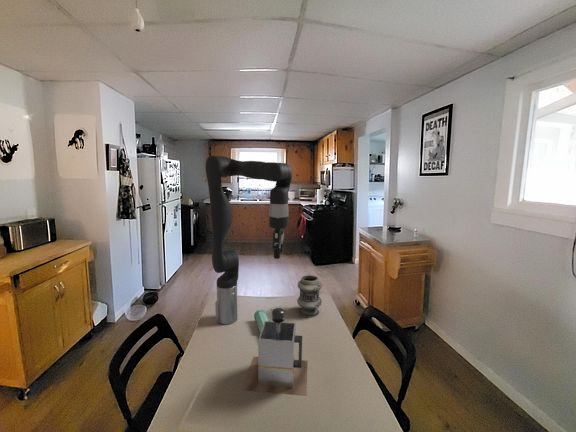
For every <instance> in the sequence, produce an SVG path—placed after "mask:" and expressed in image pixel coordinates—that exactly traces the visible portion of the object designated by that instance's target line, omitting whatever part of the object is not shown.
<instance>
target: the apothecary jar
mask: <svg viewBox="0 0 576 432" xmlns="http://www.w3.org/2000/svg"><path fill="white" fill-rule="evenodd" d="M322 286H323V284H322V283H321V281H320V280H319V277H318V276H316V275H314V274H305V275H303V276H302V277H301V278H300V280H299V281H298V282H297V288H298V289H299V296H298V297H297V304H298V306H299V307H300V308H299V312H298V313H299V314H300V315H301V316H303V317H307V318H312V317H317V316H318V315H319V314H320V311H319V309H318V308H320V307H321V306H322V298H321V297H320V290H321V289H322V288H323V287H322Z"/></svg>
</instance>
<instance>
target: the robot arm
mask: <svg viewBox="0 0 576 432" xmlns="http://www.w3.org/2000/svg"><path fill="white" fill-rule="evenodd" d="M205 173H206V181H207V186H208V195H209V209H210V222H211V223H210V224H211V237H212V238H211V239H212V240H211V241H212V243H211V262H212V263H211V264H212V268H213V270H214V271H215V273H217V274H221V273H223V274H221V275H220V276H219V277H218V278H217V279H216V302H215V303H214V304H215V305H214V306H215V322H216V323H219V324H220V325H231V324H234V323H235V322H237V321H238V314H239V313H238V280H239V270H240V269H239V268H240V266H239V265H240V259H239V255H238V253H237V251H236V250H235V249H226V250H224V243H225V239H226V236H227V234H228V233H229V231H230V230H231V229H230V228H231V226H232V224H233V212H232V211H233V209H232V204H231V202H230V201H229V200H230V199H228V197H227V195H226V193H225V192H224V190H223V183H222V178H228V177H235V176H241V177H244V178H248V179H254V180H265V181H268V182H275V186H274V187H273V188H271V189H270V192H269V209H268V210H269V211H268V226H269V228H271V229H274V231H273V232H272V249H273V258H274V260H276V259H277V260H279V259H280V258H281V253H282V252H283V243H284V240H285V239H284V238H285V231H284V229H286V228H287V229H288V227H289V192H290V188H291V183H292V178H293V171H292V167H291V166H290V165H289V164H288V163H285V162H274V161H273V162H269V161H268V162H267V161H259V160H258V161H257V160H246V161H245V160H243V161H242V160H236V159H233V158H230V157H227V156H225V155H224V156H223V155H215V154H214V155H209V156H208V157H207V159H206V161H205Z"/></svg>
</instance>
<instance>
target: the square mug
mask: <svg viewBox="0 0 576 432" xmlns="http://www.w3.org/2000/svg"><path fill="white" fill-rule="evenodd" d="M296 330H297V323H296V322H289V321H283V322H281V323H280V340H276V322H273V320H268V321H264V324H263V327H262V330H261V333H260V332H259V337H258V348H257V351H258V353H257V355H258V356H257V357H258V385H262V386H273V387H285V388H293V378H294V368H301V366H302V360H303V335H297V334H296V333H297V332H296ZM296 343H298V359H296Z"/></svg>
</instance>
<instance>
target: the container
mask: <svg viewBox="0 0 576 432" xmlns="http://www.w3.org/2000/svg"><path fill="white" fill-rule="evenodd" d="M253 318H254V320H255V321H256V324H257V327H258V330H259V334H260V333H261V330H262V327H263V324H264V321H269V319H268V317H267V312H266V311H265V310H264V309H257V310H256V311H255V312H254V314H253Z"/></svg>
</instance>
